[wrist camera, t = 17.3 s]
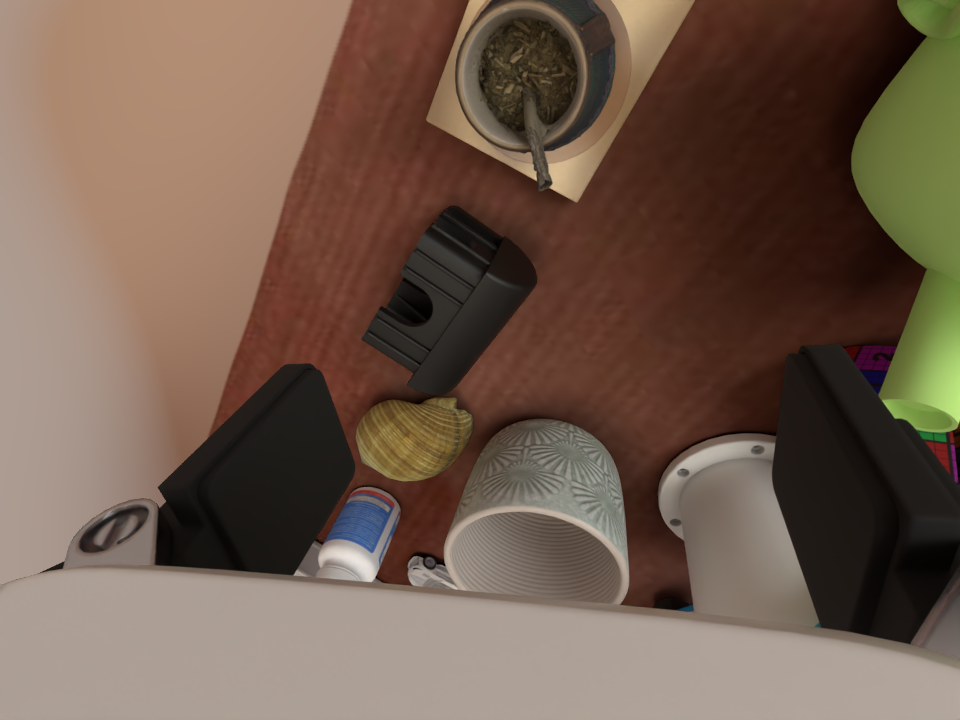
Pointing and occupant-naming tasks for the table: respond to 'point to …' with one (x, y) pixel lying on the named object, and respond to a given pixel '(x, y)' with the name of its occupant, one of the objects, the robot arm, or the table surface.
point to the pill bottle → (360, 536)
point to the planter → (541, 518)
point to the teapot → (921, 211)
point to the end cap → (451, 301)
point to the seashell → (413, 437)
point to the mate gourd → (535, 74)
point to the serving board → (638, 48)
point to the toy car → (429, 574)
